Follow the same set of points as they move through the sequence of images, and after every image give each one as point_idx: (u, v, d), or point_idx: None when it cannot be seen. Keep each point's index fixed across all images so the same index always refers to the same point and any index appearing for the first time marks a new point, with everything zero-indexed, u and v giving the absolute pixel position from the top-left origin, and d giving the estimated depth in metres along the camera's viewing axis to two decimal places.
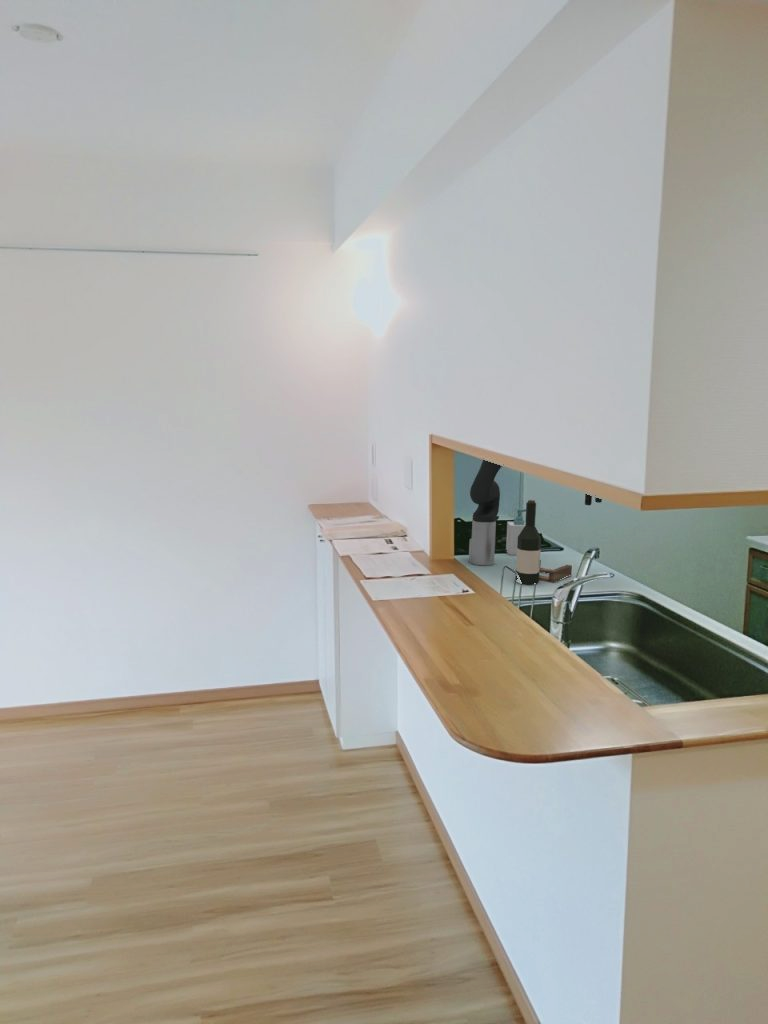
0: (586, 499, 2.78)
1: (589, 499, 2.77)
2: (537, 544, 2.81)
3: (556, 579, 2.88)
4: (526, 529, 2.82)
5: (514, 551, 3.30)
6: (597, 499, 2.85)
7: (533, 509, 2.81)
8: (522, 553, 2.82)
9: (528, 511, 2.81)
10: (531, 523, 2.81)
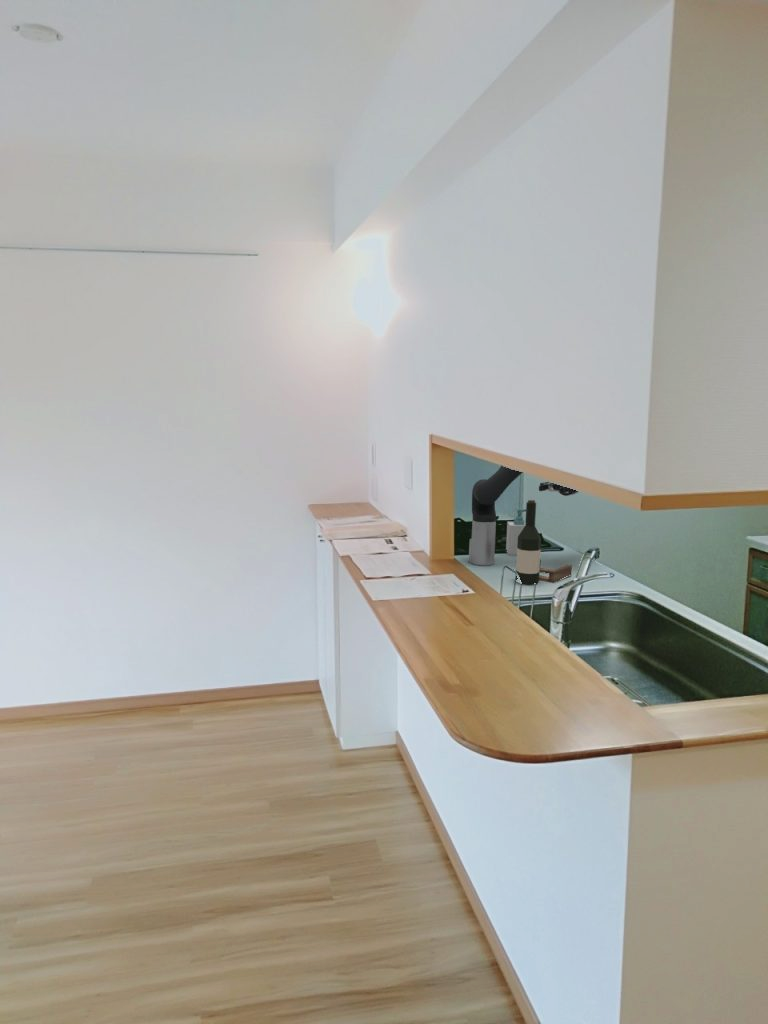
0: (565, 489, 2.94)
1: (564, 492, 2.95)
2: (537, 544, 2.81)
3: (556, 579, 2.88)
4: (526, 529, 2.82)
5: (514, 551, 3.30)
6: (542, 487, 2.99)
7: (533, 509, 2.81)
8: (522, 553, 2.82)
9: (528, 511, 2.81)
10: (531, 523, 2.81)
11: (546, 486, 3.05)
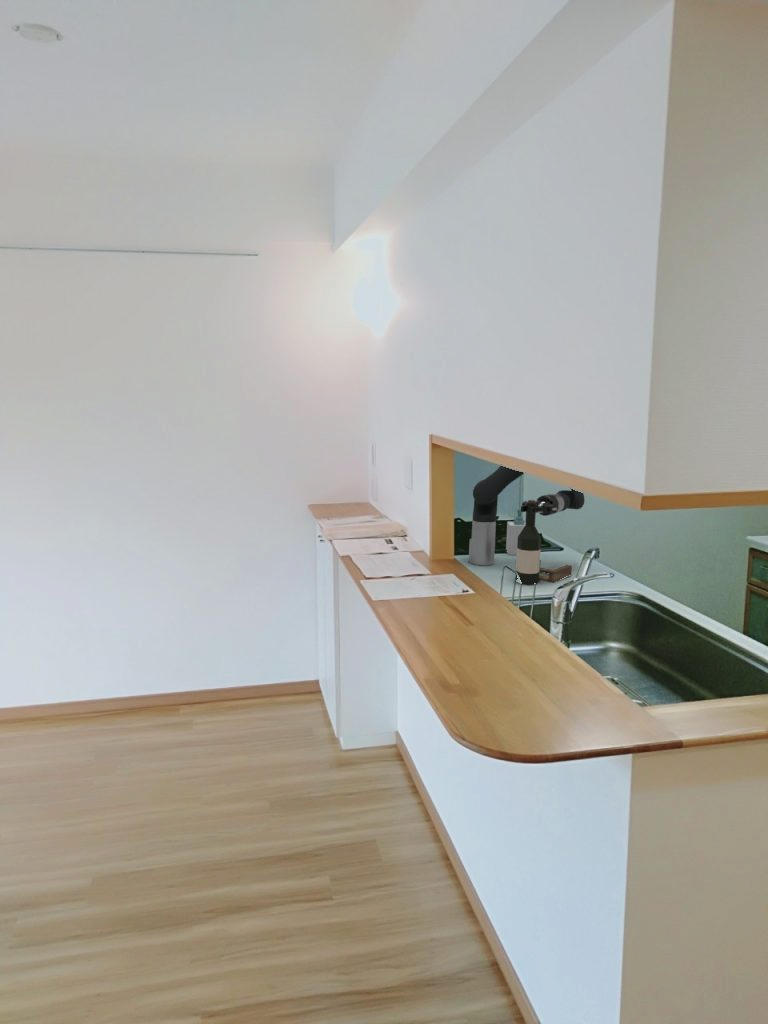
0: (537, 509, 2.80)
1: (536, 511, 2.80)
2: (537, 544, 2.81)
3: (556, 579, 2.88)
4: (526, 529, 2.82)
5: (514, 551, 3.30)
6: (524, 508, 2.82)
7: None
8: (522, 553, 2.82)
9: (528, 511, 2.81)
10: (531, 523, 2.81)
11: None
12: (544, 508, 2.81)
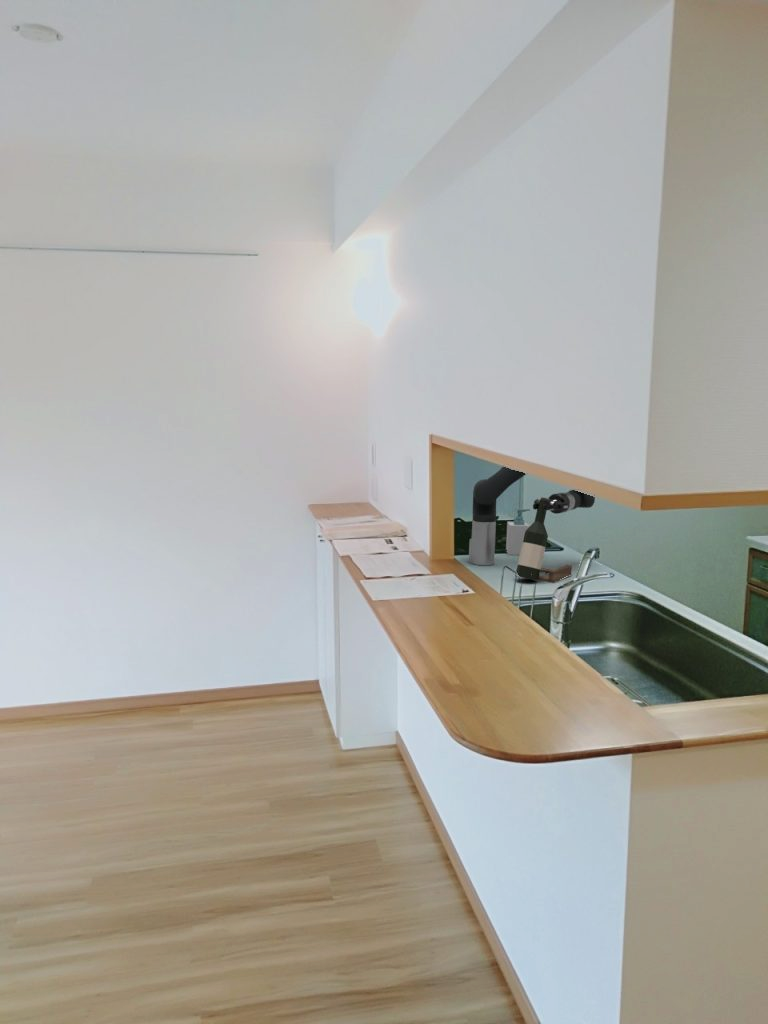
0: (549, 507, 2.87)
1: None
2: (542, 539, 2.85)
3: (556, 579, 2.88)
4: (534, 524, 2.87)
5: (514, 551, 3.30)
6: (536, 505, 2.89)
7: None
8: (526, 545, 2.86)
9: (539, 507, 2.88)
10: (540, 519, 2.87)
11: None
12: (555, 506, 2.88)
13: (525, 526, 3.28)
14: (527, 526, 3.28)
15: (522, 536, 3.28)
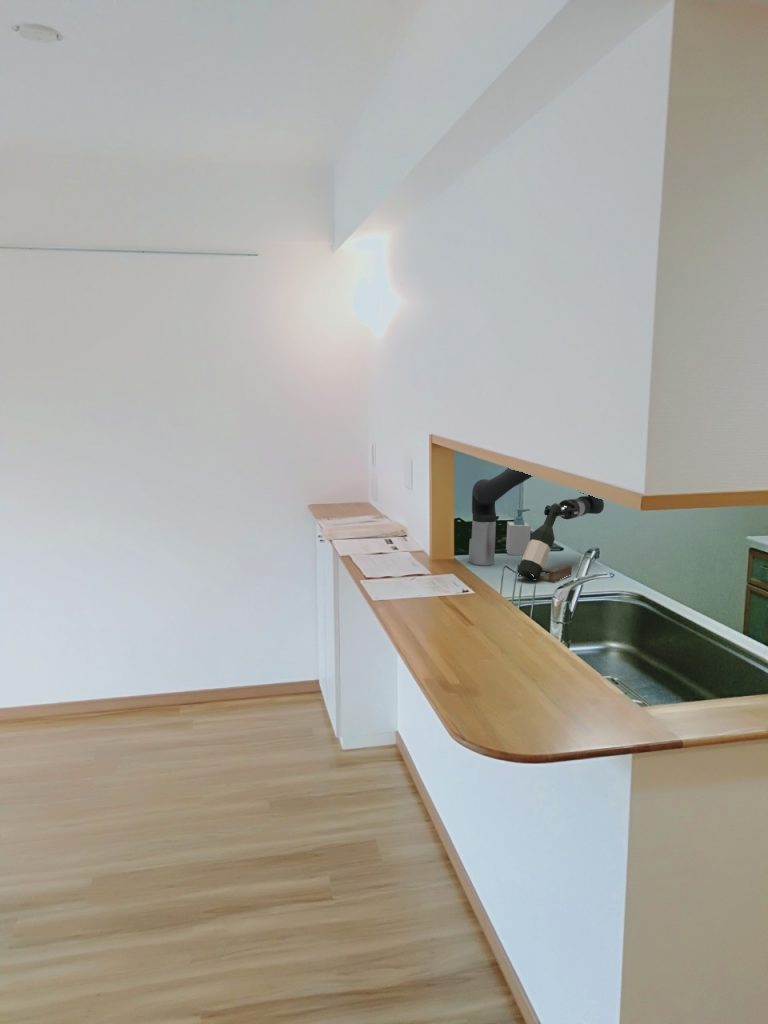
0: (559, 512, 2.94)
1: (558, 515, 2.95)
2: (549, 539, 2.89)
3: (556, 579, 2.88)
4: (543, 525, 2.93)
5: (514, 551, 3.30)
6: (547, 511, 2.96)
7: None
8: (532, 542, 2.90)
9: (550, 511, 2.96)
10: (550, 521, 2.93)
11: None
12: (566, 512, 2.95)
13: (525, 526, 3.28)
14: (527, 526, 3.28)
15: (522, 536, 3.28)
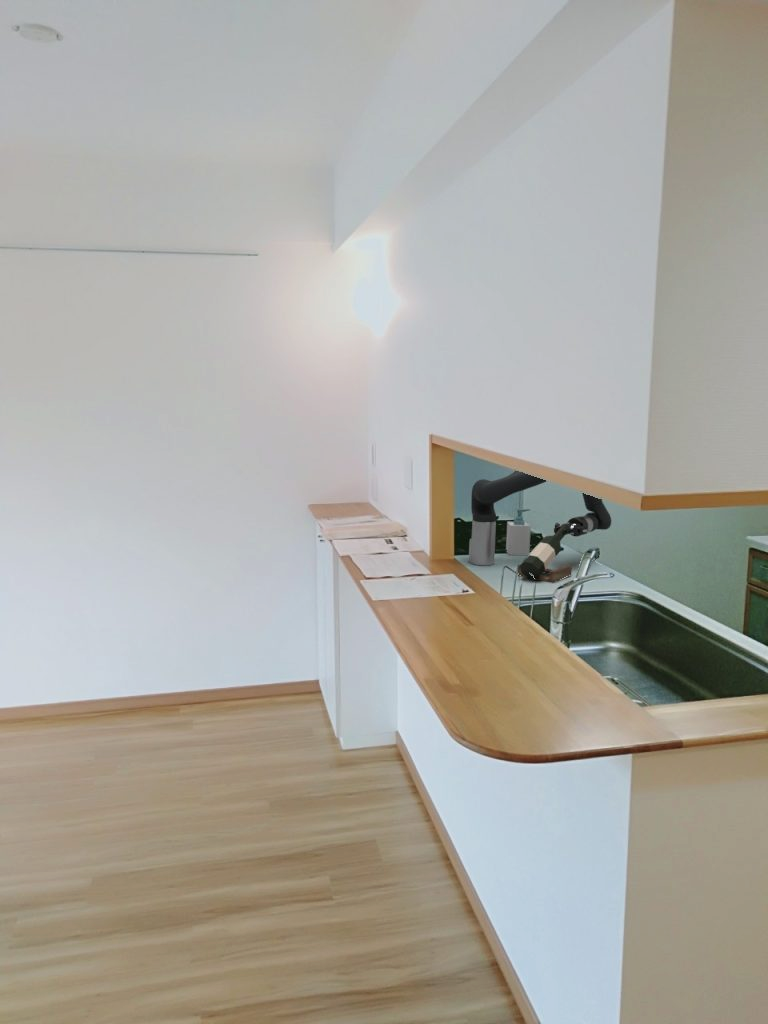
0: (569, 531, 3.02)
1: None
2: (556, 545, 2.94)
3: (556, 579, 2.88)
4: None
5: (514, 551, 3.30)
6: (557, 529, 3.04)
7: None
8: (540, 544, 2.94)
9: (561, 527, 3.04)
10: (559, 535, 3.00)
11: None
12: (575, 530, 3.03)
13: (525, 526, 3.28)
14: (527, 526, 3.28)
15: (522, 536, 3.28)
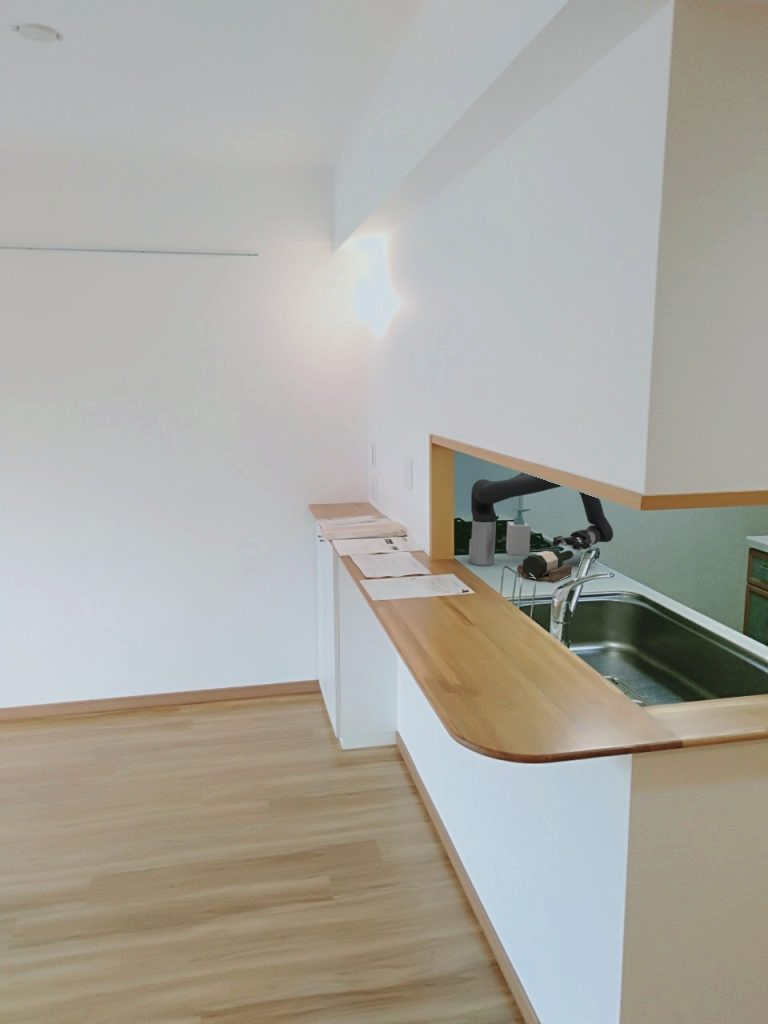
0: (578, 545, 3.05)
1: (577, 548, 3.05)
2: (560, 557, 2.98)
3: (556, 579, 2.88)
4: None
5: (514, 551, 3.30)
6: (556, 542, 3.10)
7: (569, 553, 3.09)
8: (545, 551, 2.98)
9: (565, 551, 3.09)
10: (563, 554, 3.05)
11: None
12: (585, 544, 3.05)
13: (525, 526, 3.28)
14: (527, 526, 3.28)
15: (522, 536, 3.28)
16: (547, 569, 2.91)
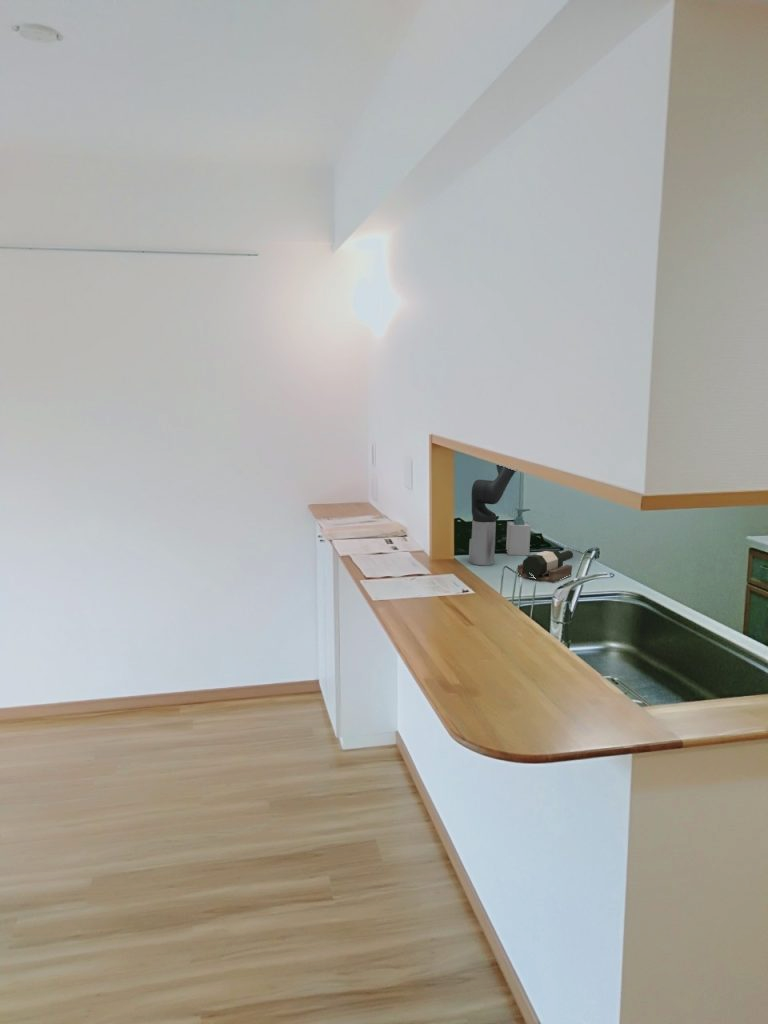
0: None
1: None
2: (560, 557, 2.98)
3: (556, 579, 2.88)
4: None
5: (514, 551, 3.30)
6: None
7: (569, 553, 3.09)
8: (545, 551, 2.98)
9: (565, 551, 3.09)
10: (563, 554, 3.05)
11: None
12: None
13: (525, 526, 3.28)
14: (527, 526, 3.28)
15: (522, 536, 3.28)
16: (547, 569, 2.91)
